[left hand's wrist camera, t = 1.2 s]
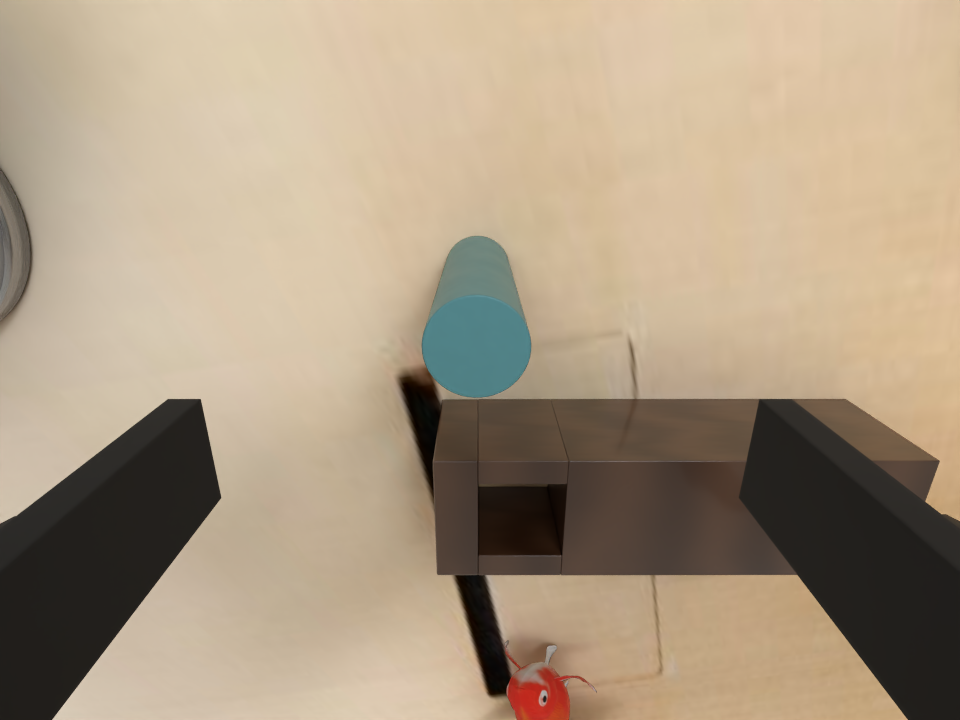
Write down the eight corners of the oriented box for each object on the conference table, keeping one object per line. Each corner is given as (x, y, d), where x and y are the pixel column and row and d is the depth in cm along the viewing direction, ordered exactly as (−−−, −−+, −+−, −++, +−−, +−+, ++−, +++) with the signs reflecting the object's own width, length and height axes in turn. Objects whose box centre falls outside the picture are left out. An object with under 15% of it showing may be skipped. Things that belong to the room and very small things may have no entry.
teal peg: (435, 283, 34) (405, 373, 20) (461, 224, 32) (448, 276, 18) (492, 308, 34) (501, 414, 20) (520, 252, 33) (550, 322, 19)
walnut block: (444, 496, 39) (437, 575, 32) (442, 399, 36) (432, 461, 29) (819, 495, 39) (899, 575, 32) (846, 398, 37) (940, 460, 29)
